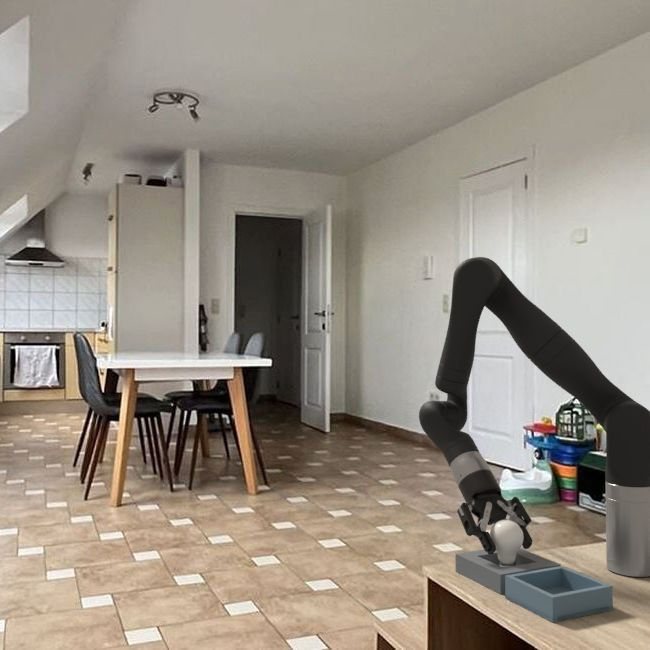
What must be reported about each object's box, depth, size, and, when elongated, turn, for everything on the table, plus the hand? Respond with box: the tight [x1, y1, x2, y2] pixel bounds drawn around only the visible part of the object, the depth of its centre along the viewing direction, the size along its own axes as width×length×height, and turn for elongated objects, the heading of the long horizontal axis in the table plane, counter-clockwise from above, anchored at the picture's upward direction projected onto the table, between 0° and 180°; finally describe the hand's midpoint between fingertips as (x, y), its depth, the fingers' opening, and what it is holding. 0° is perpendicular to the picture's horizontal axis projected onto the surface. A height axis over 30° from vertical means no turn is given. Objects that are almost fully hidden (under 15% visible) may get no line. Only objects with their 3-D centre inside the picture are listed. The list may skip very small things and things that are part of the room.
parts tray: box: [504, 565, 614, 623], centre depth 124 cm, size 13×12×4 cm
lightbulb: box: [489, 518, 524, 568], centre depth 138 cm, size 6×6×11 cm
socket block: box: [455, 547, 562, 595], centre depth 138 cm, size 14×14×4 cm
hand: (511, 549), depth 137 cm, fingers open, 8 cm apart
